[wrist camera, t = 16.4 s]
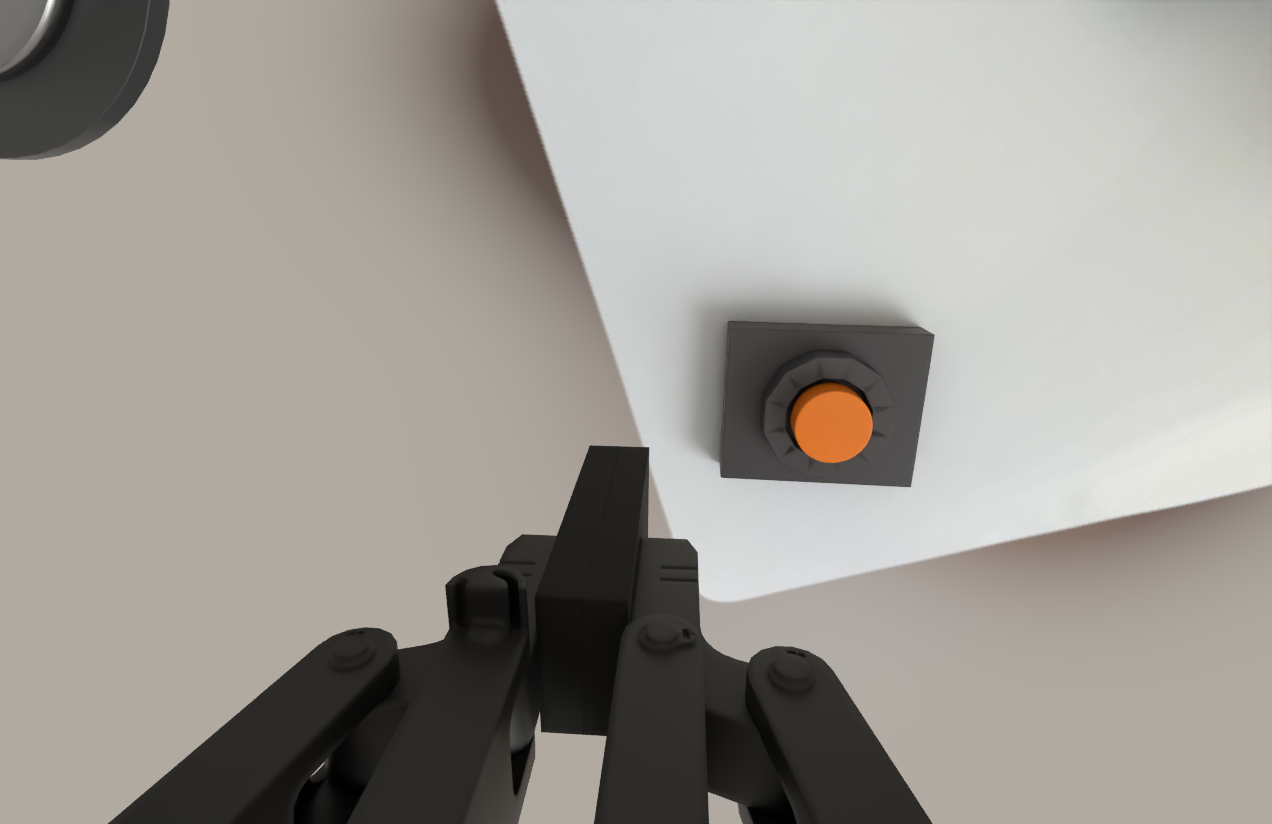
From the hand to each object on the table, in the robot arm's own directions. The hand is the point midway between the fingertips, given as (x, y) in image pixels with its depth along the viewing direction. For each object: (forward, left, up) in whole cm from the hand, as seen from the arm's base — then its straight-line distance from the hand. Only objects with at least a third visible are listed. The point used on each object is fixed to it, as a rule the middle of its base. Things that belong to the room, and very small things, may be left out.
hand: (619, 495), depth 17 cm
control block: (+10, +3, -24) cm, 26 cm away
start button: (+10, +3, -20) cm, 22 cm away
